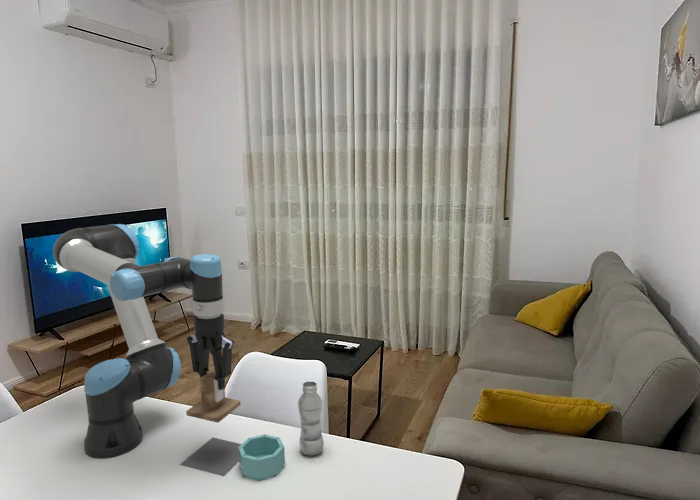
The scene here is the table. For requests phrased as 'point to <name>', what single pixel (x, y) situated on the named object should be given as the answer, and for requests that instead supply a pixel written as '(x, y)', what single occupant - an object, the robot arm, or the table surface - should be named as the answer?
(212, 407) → the cover lid
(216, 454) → the mat
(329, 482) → the table surface
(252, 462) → the bowl
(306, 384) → the plastic bottle
